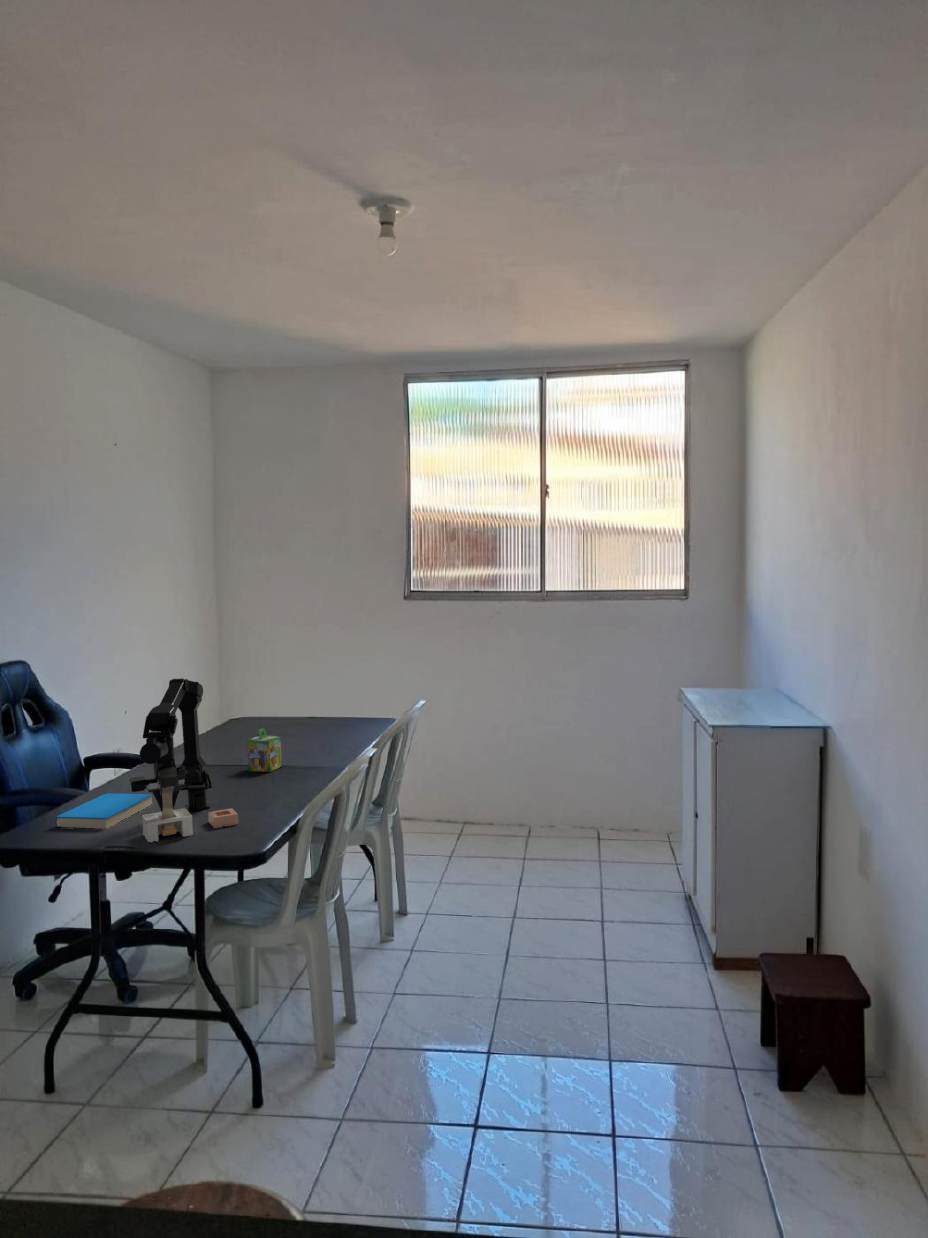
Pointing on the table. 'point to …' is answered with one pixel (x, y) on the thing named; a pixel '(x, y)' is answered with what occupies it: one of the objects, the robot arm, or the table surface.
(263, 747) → the printed toy box
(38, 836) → the table surface
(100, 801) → the book
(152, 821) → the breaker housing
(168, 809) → the tan square peg
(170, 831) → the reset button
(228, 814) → the holder
